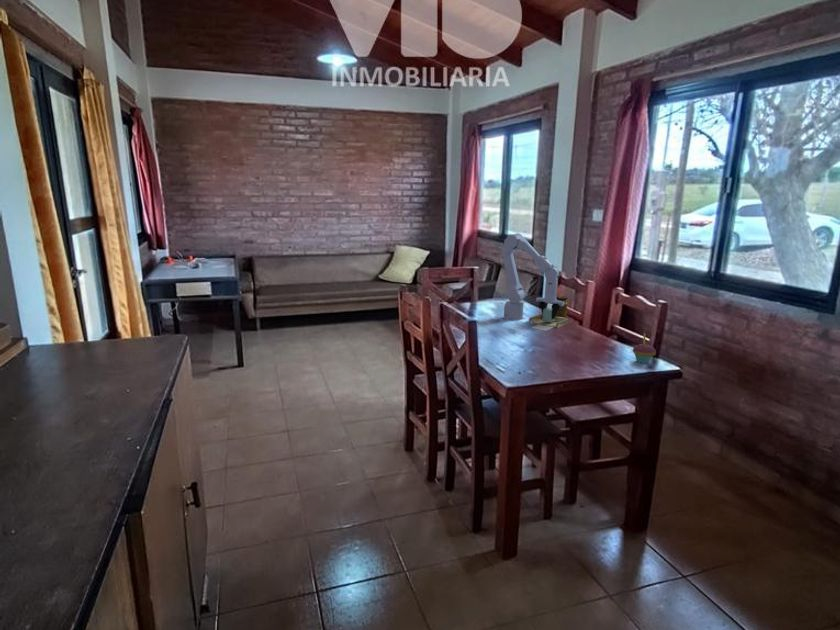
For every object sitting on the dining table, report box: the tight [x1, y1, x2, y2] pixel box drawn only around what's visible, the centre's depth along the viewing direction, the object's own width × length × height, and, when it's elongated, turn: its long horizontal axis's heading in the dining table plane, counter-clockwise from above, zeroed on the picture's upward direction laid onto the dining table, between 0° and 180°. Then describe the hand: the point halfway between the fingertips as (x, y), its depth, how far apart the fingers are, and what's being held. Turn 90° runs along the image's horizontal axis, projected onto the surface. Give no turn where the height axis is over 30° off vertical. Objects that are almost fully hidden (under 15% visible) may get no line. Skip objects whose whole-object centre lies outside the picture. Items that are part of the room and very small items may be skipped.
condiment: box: [556, 295, 568, 318], centre depth 268 cm, size 7×8×12 cm
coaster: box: [530, 324, 554, 331], centre depth 252 cm, size 8×8×1 cm
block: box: [542, 307, 555, 323], centre depth 260 cm, size 4×4×6 cm
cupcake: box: [632, 331, 657, 364], centre depth 205 cm, size 9×8×12 cm
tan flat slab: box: [528, 313, 570, 329], centre depth 261 cm, size 16×12×3 cm
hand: (548, 317), depth 260 cm, fingers closed on block, 4 cm apart
